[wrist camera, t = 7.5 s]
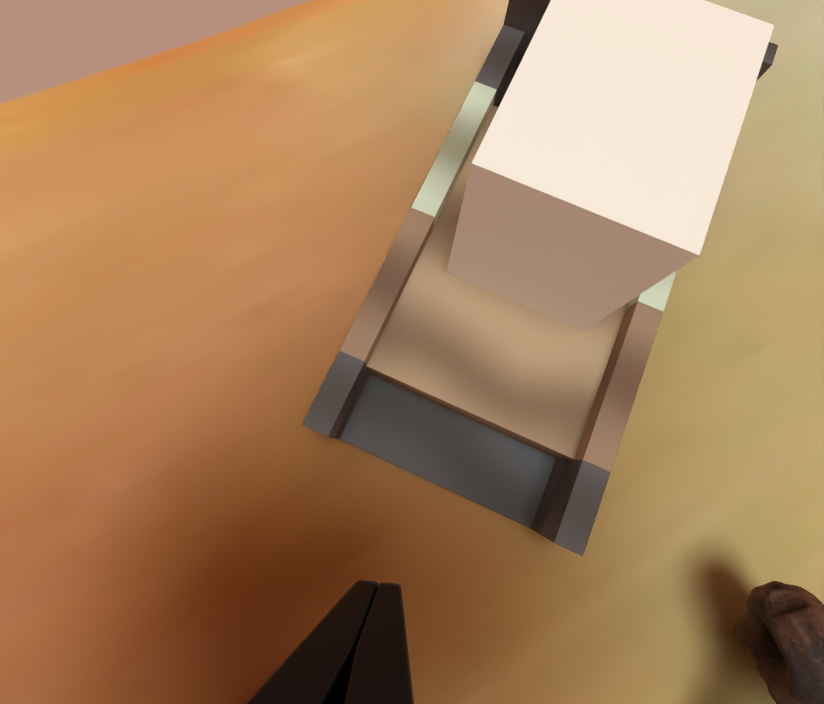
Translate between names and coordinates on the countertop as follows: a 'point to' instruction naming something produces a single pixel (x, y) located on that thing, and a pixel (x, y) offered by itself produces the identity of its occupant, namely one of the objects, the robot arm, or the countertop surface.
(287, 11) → the countertop surface
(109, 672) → the countertop surface
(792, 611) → the pottery mug
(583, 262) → the block
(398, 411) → the box
